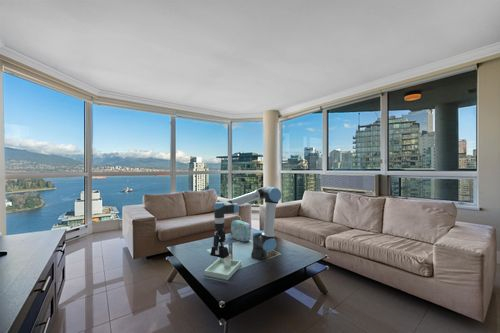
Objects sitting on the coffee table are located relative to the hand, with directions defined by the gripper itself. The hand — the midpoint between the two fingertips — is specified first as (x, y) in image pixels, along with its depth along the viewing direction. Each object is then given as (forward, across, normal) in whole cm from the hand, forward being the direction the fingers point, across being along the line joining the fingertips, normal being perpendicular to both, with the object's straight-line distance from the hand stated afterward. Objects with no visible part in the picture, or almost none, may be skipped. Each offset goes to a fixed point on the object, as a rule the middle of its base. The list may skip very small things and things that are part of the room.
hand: (219, 252), depth 161 cm
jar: (+16, -13, 0) cm, 20 cm away
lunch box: (+17, -76, -17) cm, 79 cm away
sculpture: (+2, 0, 0) cm, 2 cm away
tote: (+17, -6, 0) cm, 18 cm away
